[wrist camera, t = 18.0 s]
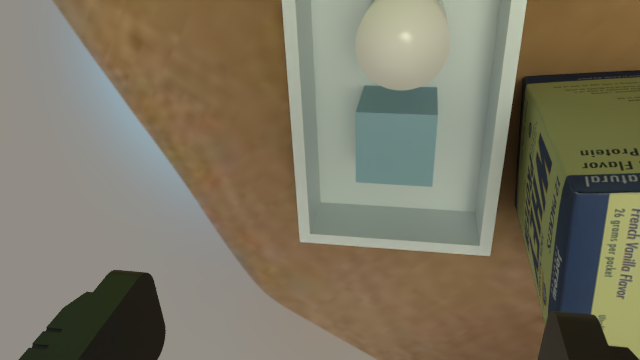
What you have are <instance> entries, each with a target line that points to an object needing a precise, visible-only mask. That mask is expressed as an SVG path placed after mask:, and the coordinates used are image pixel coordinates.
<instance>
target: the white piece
mask: <svg viewBox="0 0 640 360" xmlns="http://www.w3.org/2000/svg"><path fill="white" fill-rule="evenodd" d="M355 48H356V55H357V59H358V62H359V64H360V66H361V68H362V70H363V71H364V72H365V74H366V75H367V76H368V77H369V78H370V79H371V80H372V81H374V82H375V83H377V84H378V85H380V86H382V87H385V88H388V89H392V90H401V91H402V90H411V89H415V88H418V87H421V86H423V85H425V84H426V83H428V82H430V81H431V80H432V79H433V78H435V76H436V75H437V74H438V73H439V72H440V71H441V69H442V68H443V66H444V64H445V63H446V60H447V58H448V54H449V50H450V35H449V28H448V23H447V17H446V11H445V6H444V3H443V0H372V1H371V3H370V5H369V7H368V9H367V11H366V13H365V15H364V17H363V19H362V21H361V24H360V26H359V28H358V31H357V35H356V41H355Z"/></svg>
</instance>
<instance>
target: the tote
mask: <svg viewBox="0 0 640 360" xmlns="http://www.w3.org/2000/svg"><path fill="white" fill-rule="evenodd" d="M371 1H372V0H282V10H283V24H284V37H285V50H286V63H287V77H288V90H289V103H290V117H291V130H292V143H293V156H294V170H295V183H296V196H297V210H298V223H299V236H300V242H308V243H321V244H334V245H348V246H361V247H374V248H388V249H401V250H414V251H428V252H441V253H454V254H468V255H481V256H490V254H491V247H492V240H493V233H494V226H495V219H496V212H497V205H498V198H499V191H500V184H501V177H502V171H503V164H504V157H505V150H506V143H507V136H508V129H509V122H510V115H511V108H512V101H513V94H514V87H515V80H516V73H517V66H518V59H519V52H520V45H521V38H522V32H523V25H524V18H525V11H526V4H527V0H443V3H444V6H445V11H446V17H447V23H448V28H449V35H450V50H449V54H448V58H447V60H446V63H445V64H444V66H443V68H442V69H441V71H440V72H439V73H438V74H437V75H436V76H435V78H433V79H432V80H431V81H430V82H428V83H426V84H425V85H423V86H421V87H437V98H438V121H437V134H436V146H435V159H434V171H433V184H432V187H426V186H409V185H392V184H375V183H358V182H356V109H357V106H358V103H359V100H360V97H361V94H362V91H363V88H364V85H370V86H380V85H378V84H377V83H375V82H374V81H372V80H371V79H370V78H369V77H368V76H367V75H366V74H365V72H364V71H363V70H362V68H361V66H360V64H359V62H358V59H357V55H356V48H355V41H356V35H357V31H358V28H359V26H360V24H361V21H362V19H363V17H364V15H365V13H366V11H367V9H368V7H369V5H370V3H371Z"/></svg>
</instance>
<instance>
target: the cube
mask: <svg viewBox="0 0 640 360" xmlns="http://www.w3.org/2000/svg"><path fill="white" fill-rule="evenodd" d="M437 121H438V98H437V87H418V88H415V89H411V90H402V91H401V90H392V89H388V88H385V87H382V86H370V85H364V88H363V91H362V94H361V97H360V100H359V103H358V106H357V109H356V182H358V183H375V184H392V185H409V186H426V187H432V184H433V171H434V159H435V146H436V134H437Z"/></svg>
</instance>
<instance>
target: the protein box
mask: <svg viewBox="0 0 640 360" xmlns="http://www.w3.org/2000/svg"><path fill="white" fill-rule="evenodd" d="M515 206H516V210H517V214H518V218H519V222H520V226H521V230H522V233H523V238H524V242H525V246H526V250H527V254H528V258H529V261H530V265H531V269H532V274H533V278H534V282H535V286H536V290H537V294H538V298H539V302H540V306H541V310H542V314H543V318H544V322H545V326H546V321H547V317H548V315H549V313H550V312H551V311H559V312H570V313H581V314H592V315H595V316H596V317H597V318H598V320H599V322H600V325H601V327H602V330H603V333H604V335H605V338H606V340H607V343H608V345H609V346H618V347H628V348H629V349H630V350H631V351H632V352H633V353H634V354H635V355H636V356H637V358H638V359H639V360H640V71H623V72H603V73H584V74H565V75H546V76H528V77H524V78H523V91H522V105H521V119H520V130H519V146H518V162H517V179H516V193H515Z"/></svg>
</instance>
